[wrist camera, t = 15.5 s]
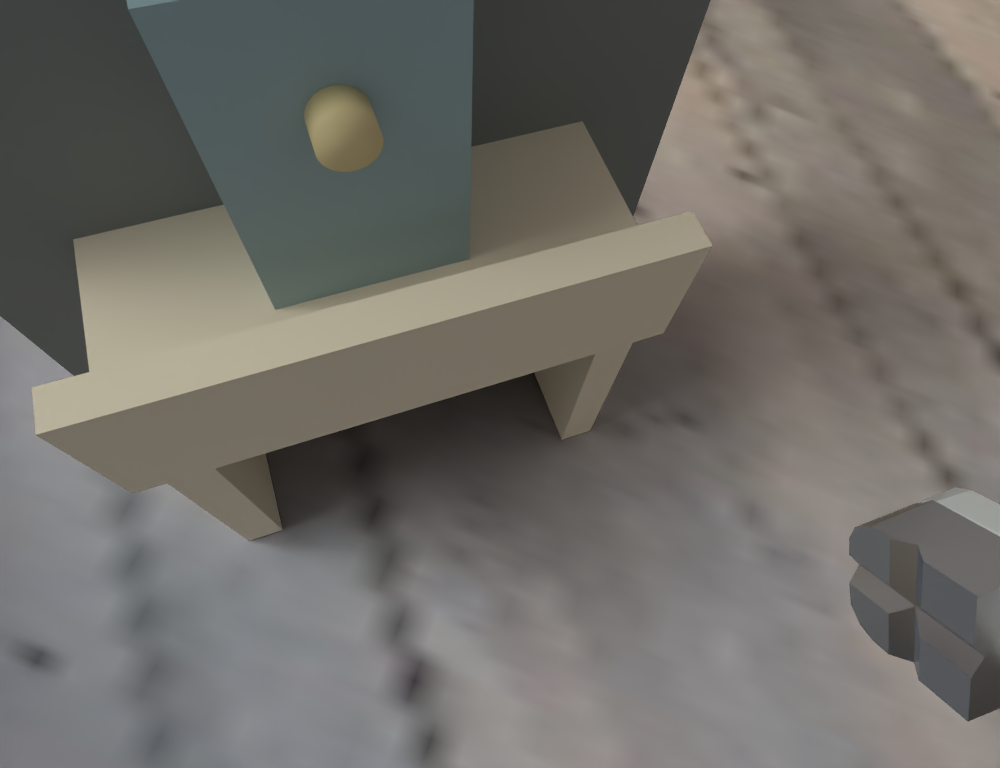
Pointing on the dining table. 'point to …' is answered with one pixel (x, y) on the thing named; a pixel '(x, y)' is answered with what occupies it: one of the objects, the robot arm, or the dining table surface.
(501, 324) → the wall board
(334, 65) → the small cabinet
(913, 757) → the dining table surface
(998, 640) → the robot arm
